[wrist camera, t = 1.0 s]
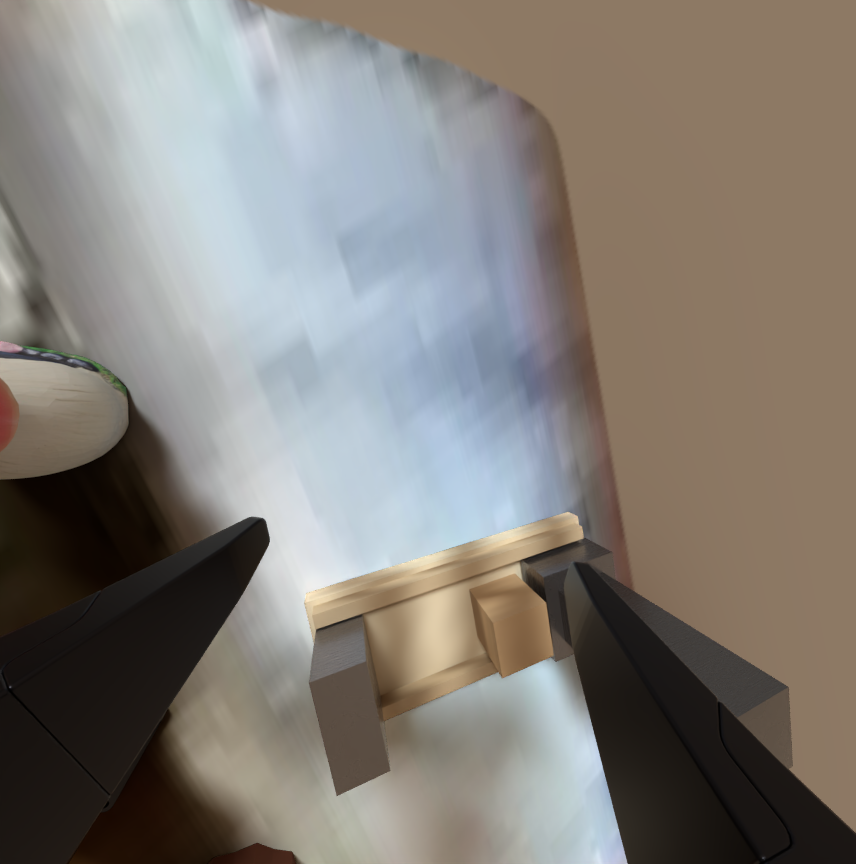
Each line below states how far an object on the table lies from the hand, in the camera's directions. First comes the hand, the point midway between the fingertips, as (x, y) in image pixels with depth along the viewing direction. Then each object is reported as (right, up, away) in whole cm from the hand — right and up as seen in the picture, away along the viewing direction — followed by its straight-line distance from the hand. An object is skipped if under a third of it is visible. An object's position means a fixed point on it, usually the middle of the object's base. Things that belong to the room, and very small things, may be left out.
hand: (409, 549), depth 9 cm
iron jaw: (-5, -13, +13) cm, 19 cm away
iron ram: (+11, -9, +17) cm, 22 cm away
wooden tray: (+3, -11, +16) cm, 20 cm away
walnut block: (+6, -10, +16) cm, 20 cm away
